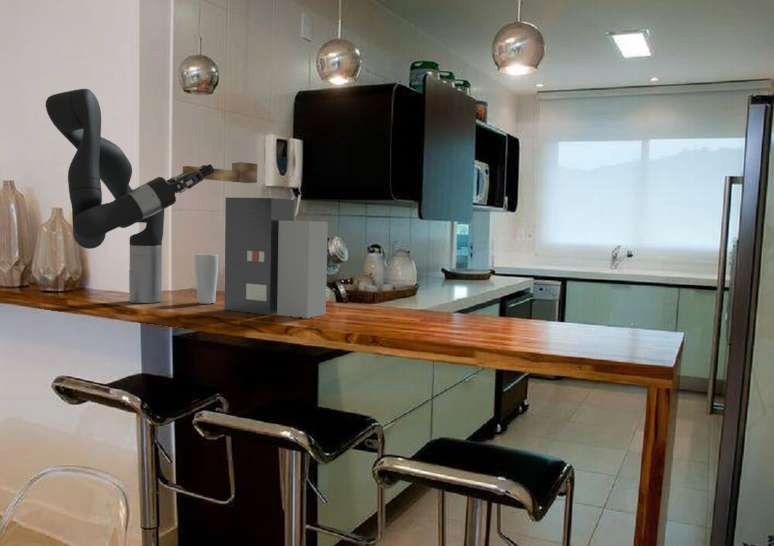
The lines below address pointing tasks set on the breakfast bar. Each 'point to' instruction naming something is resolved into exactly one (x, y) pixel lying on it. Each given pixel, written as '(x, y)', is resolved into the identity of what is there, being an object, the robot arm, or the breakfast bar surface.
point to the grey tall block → (302, 268)
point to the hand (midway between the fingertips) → (209, 168)
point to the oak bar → (230, 173)
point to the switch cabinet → (253, 252)
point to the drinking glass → (206, 277)
